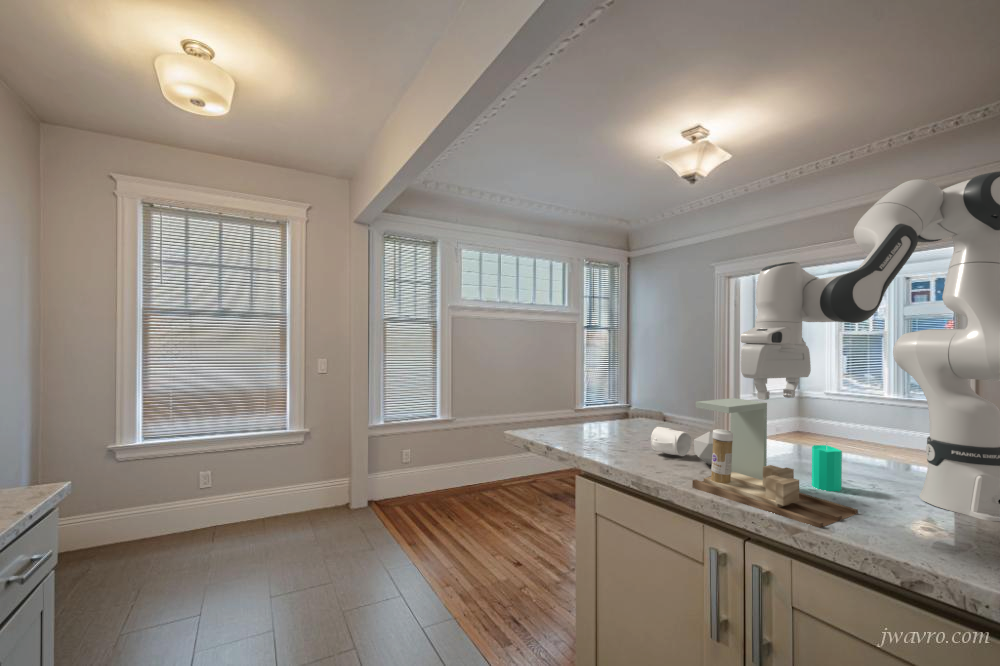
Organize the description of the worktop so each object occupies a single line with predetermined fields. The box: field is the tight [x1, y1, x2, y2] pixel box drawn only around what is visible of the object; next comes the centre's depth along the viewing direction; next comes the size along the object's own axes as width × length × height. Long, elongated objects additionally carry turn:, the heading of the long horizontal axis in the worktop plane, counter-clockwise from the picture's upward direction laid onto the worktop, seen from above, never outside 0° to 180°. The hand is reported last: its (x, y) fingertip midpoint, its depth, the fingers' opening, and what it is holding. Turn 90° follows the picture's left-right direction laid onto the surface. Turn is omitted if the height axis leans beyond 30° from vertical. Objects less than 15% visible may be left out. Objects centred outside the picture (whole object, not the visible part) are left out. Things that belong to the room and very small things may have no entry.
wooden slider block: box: [731, 464, 795, 491], centre depth 110 cm, size 15×6×6 cm, turn 29°
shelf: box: [695, 397, 768, 480], centre depth 113 cm, size 9×15×22 cm, turn 119°
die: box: [693, 431, 713, 466], centre depth 132 cm, size 8×9×10 cm
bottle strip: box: [703, 475, 800, 507], centre depth 104 cm, size 20×6×6 cm, turn 29°
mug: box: [650, 426, 693, 457], centre depth 144 cm, size 12×9×8 cm
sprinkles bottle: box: [710, 428, 733, 483], centre depth 110 cm, size 5×5×14 cm
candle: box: [811, 442, 843, 492], centre depth 112 cm, size 6×6×12 cm
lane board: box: [691, 475, 859, 529], centre depth 104 cm, size 29×15×2 cm, turn 29°
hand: (776, 398), depth 99 cm, fingers open, 8 cm apart
